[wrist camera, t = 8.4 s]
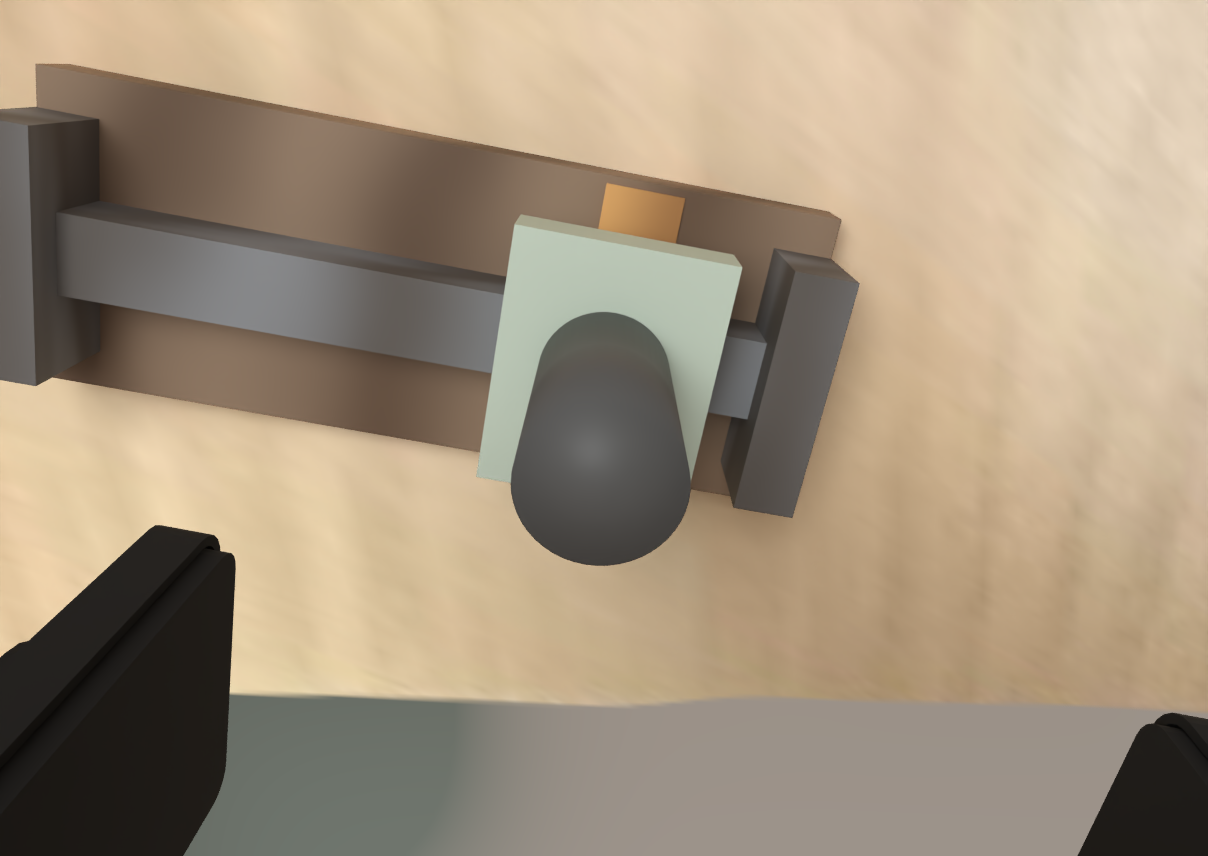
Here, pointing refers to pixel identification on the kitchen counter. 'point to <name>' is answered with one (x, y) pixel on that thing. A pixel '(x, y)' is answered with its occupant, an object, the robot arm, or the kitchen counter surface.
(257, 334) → the rail base
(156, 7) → the kitchen counter surface
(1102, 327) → the kitchen counter surface
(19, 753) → the robot arm
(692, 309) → the carriage
